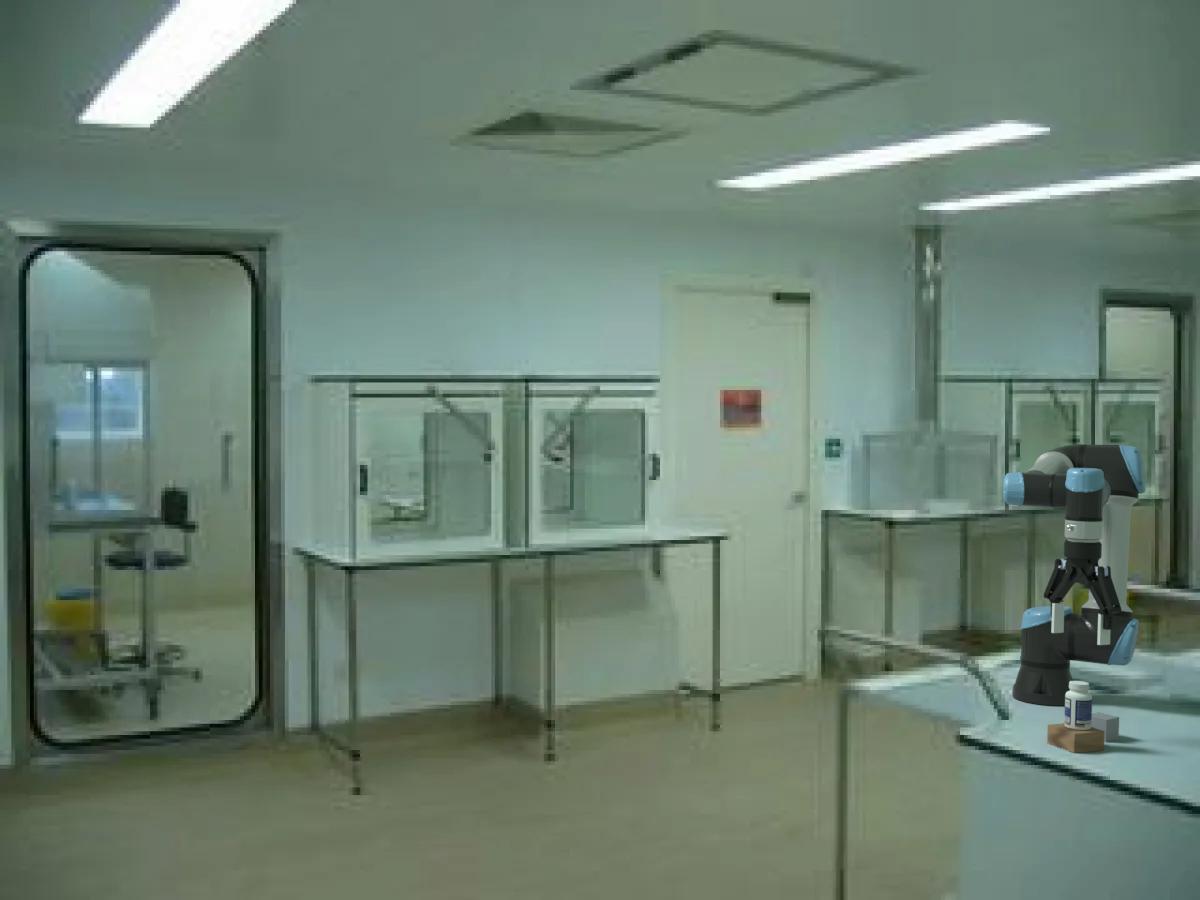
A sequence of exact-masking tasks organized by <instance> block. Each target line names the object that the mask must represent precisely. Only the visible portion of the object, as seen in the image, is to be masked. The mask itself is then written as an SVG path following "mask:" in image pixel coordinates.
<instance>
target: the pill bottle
mask: <svg viewBox="0 0 1200 900" xmlns="http://www.w3.org/2000/svg"><path fill="white" fill-rule="evenodd" d="M1069 689H1070V691H1068V692H1066V694H1065V705H1064V724H1065V727H1067V728H1070V729H1074V730H1089V729H1091V719H1092V713H1093V712H1092V711H1093V695H1092V694H1091V693H1090V692H1089V690H1090V683H1089V682H1086V681H1082V680H1073V681H1070V682H1069Z"/></svg>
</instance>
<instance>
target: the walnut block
mask: <svg viewBox="0 0 1200 900" xmlns="http://www.w3.org/2000/svg"><path fill="white" fill-rule="evenodd" d="M1064 723H1065V722H1064ZM1064 723H1063V722H1062V723H1052V724H1047V738H1046V739H1047V741H1046V742H1047V743H1046V744H1048V743H1049V745H1051V746H1054V747H1056V746H1057V747H1056V748H1059V747H1060V748H1059V749H1062V748H1063V750H1064V749H1065V750H1064V751H1067V750H1068V751H1067V752H1069V753H1073V754H1077V753H1088V752H1096V751H1097V752H1098V751H1104V750H1105V742H1104V732H1105V731H1102V730H1099V729H1096V728H1093V727H1091V729H1089V730H1074V729H1070V728H1067V727H1065V724H1064Z"/></svg>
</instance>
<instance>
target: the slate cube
mask: <svg viewBox="0 0 1200 900" xmlns="http://www.w3.org/2000/svg"><path fill="white" fill-rule="evenodd" d="M1091 727H1093V728H1096V729H1099V730H1102V731H1105V732H1104V743H1109V742H1112V741H1117V740H1119V737H1120V736H1119V735H1120V732H1119V731H1120V729H1119V728H1120V716H1118V715H1111V714H1107V713H1104V712H1099V711H1098V712H1094V713H1093V712H1092V719H1091Z"/></svg>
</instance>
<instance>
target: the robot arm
mask: <svg viewBox="0 0 1200 900" xmlns="http://www.w3.org/2000/svg"><path fill="white" fill-rule="evenodd" d="M1145 492H1146V475H1145V465H1144V459H1143V454H1142V452H1141V449H1139V448H1138V447H1136V446H1132V445H1122V444H1082V443H1078V444H1077V443H1074V444H1068V445H1063V446H1059V447H1055V448H1053V449H1052V448H1051V449H1050V450H1048V451H1045V452H1044V453H1042V454H1041V455H1039V457H1038V458H1037V459H1036V460H1035V462H1034V465H1033V466H1031V468H1029V469H1028V470H1026V471H1025V472H1020V471H1017V472H1008V473H1006V474H1005V476H1004V479H1003V485H1002V495H1003V496H1002V497H1003V502H1005V503H1006V505H1011V506H1018V507H1024V506H1025V507H1043V508H1044V507H1045V508H1058V509H1059V508H1061V509H1065V516H1064V537H1065V538H1066V540H1065V541H1063V556H1064V558H1056V559H1055V560H1054V569H1053V571H1052V573H1051V575H1050V578H1049V579H1048V582H1047V584H1046V587H1045V590H1044V592H1043V598H1044V599H1047V600H1048V601H1049V602H1050V605H1048V606H1047V605H1045V606H1044V605H1043V606H1037V607H1036V606H1034V607H1031V608H1030V607H1029V608H1027V609H1026V610H1025V611H1023V613H1022V622H1021V626H1020V629H1021V640H1020V641H1021V643H1020V644H1021V646H1020V666H1019V670H1018V673H1017V676H1016V679H1015V682H1014V684H1013V686H1012V694H1011V695H1012V697H1013V698H1014V699H1016V700H1018V701H1021V702H1025V703H1029V704H1035V705H1045V706H1065V694H1066V692H1068V691H1070V689H1069V682H1070V681H1074V680H1073V677H1072V674H1071V661H1075V662H1083V663H1091V664H1100V665H1107V666H1126V665H1128V664H1129V663H1130V664H1131V661H1132V660H1133V657H1134V653H1135V650H1136V649H1135V648H1136V644H1137V640H1138V636H1139V635H1138V634H1139V625H1140V624H1139V623H1140V621H1139V620H1138V619H1136V618H1135V617H1133V611H1134V610H1132V608H1130V607H1129V606H1128V604H1127V596H1128V595H1127V594H1128V574H1129V555H1130V554H1129V553H1130V534H1131V515H1132V514H1131V513H1132V506H1134V505H1135V504H1136V503H1137V502H1138V501H1139V495H1140V494H1141V495H1142V494H1145ZM1076 583H1077V584H1080V585H1084V586H1085V587H1086V588H1088V600H1087V601H1086V602H1085V603H1084V604H1083V605H1082V606H1081V609H1080V610H1081V611H1080V612H1081V613H1075V612H1073V609H1072V607H1071V606H1067V605H1066V606H1065V603H1064V599H1065V597H1066V596H1067V594H1068V592H1069V591H1070V590H1071V589H1072V587H1073V586H1074V585H1075V584H1076Z"/></svg>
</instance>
